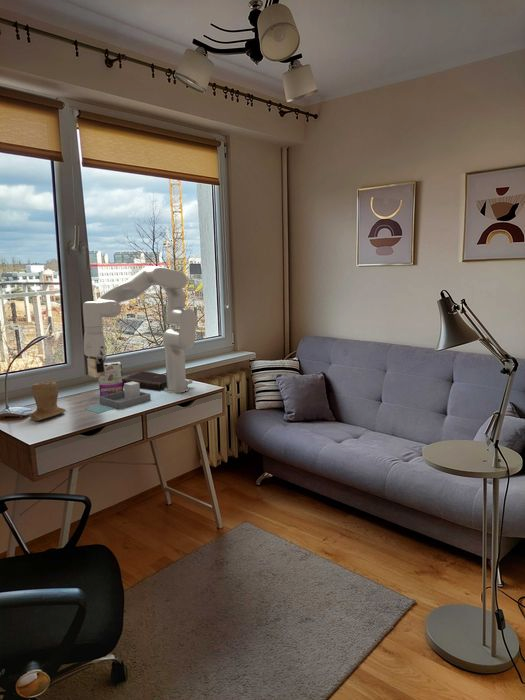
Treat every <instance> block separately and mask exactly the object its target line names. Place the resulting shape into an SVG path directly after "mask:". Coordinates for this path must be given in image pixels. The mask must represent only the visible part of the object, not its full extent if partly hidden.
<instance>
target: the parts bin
mask: <svg viewBox="0 0 525 700" xmlns="http://www.w3.org/2000/svg"><path fill="white" fill-rule="evenodd" d="M151 400H152V397H151V393H148V392H146V391H145V392H144V391H141V390H140V396H139V397H136V398H132V399H128V400H125V393H124V390H123V391H121V392H117V393H114V394H110V395H106V396H102V397H100V396H99V405H103V406H107V407H110V408H113V409H116V410H122V409H125V408H128V407H133V406H135V405H140V404H142V403H145V402H149V401H151Z"/></svg>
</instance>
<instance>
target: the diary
mask: <svg viewBox="0 0 525 700" xmlns="http://www.w3.org/2000/svg"><path fill="white" fill-rule="evenodd" d="M122 378H123V386H124V383H128V382H132V381H133V382H137V383H139V386H140V389H144V390H149V391H151V390H152V391H158V392H160V391H162V390H161V389H163V390H164V388H165V387H167V378H166V374H162V373H156V372H151V371H145V370H144V371H142V370H140V371H139V372H136V373H131V374H130V375H127V376H126V377H122Z"/></svg>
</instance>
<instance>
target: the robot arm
mask: <svg viewBox="0 0 525 700" xmlns="http://www.w3.org/2000/svg"><path fill="white" fill-rule="evenodd" d="M187 283H188V278H187V276H186V273H184V272H183V271H180V270H176V269H172V268H168V267H162V266H150V265H149V266H146V267H143V268H142V269H140V270H139V271H138V272H136V273H135V274H134V275H133V276H131V277H130V278H129V279H127V280H126V281H125V282H123V283H121V284H119V285H117V286H115V287H113V288H111V289H109V290H108V291H106V292H104V293H103V294H101V295H100V296H99V297H98V298H97V299H95V300H93V301H92V300H90V301H85V302H83V305H82V313H83V325H84V333H83V334H84V335H83V354H84V355H85V356H86V359H87V358H91V357H96V359H97V363H98V364H96V365H97V373H100V372H104V363H105V360H106V359H107V354H106V353H107V349H106V342H105V341H106V340H105V335H104V326H103V325H104V324H103V318H115V317H117V316H119V315H120V314H121V313H122V306H121V304H120V303H123V302H126V301H130V300H134V299H137V298H138V297H140V296H141V295H142V294H143V293H145V292H146V291H147V290H148V289H150V288H151V287H152V286H160V287H161V288H162V289H163V290H164V292H165V294H166V297H167V298H166V299H167V303H166V305H167V306H166V322H167V323H168V324H169V325H171V326H174V327H175V328H168V329H167V330H165V331H164V332H163V335H162V342H163V343H162V344H163V348H164V354H165V371H166V372H165V375H166V378H167V387H165V388H164V389H163V391H164V392H165V393H169V394H170V393H172V394H182V392H183V393H185V391H186V392H188V391H189V390H190V387H189V386H188V385H190V384H191V385H192V384H193V382H194V381H193V380H192V379H188V380H187V379H186V354H185V351H186V350H187V351H188V350H190V349H192V348H193V347H194V344H195V342H196V333H197V331H196V329H197V316H196V313H195V311H194V310H193V309H191V308H190V307H186V303H185V302H186V297H185V295H186V294H185V292H184V290H183V288H184V287H186V285H187ZM176 327H178V328H176ZM184 350H185V351H184ZM100 357H101V358H100ZM99 358H100V360H99Z"/></svg>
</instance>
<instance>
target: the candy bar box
mask: <svg viewBox="0 0 525 700" xmlns="http://www.w3.org/2000/svg"><path fill="white" fill-rule="evenodd" d="M104 364H105V376H101V377H97V378H98V379H97V380H98V387H99V388H98V389H99V392H98V393H99V398H100V397H102V396H106V395H110V394H114V393H117V392H121V391H124V387H123V378H124V377H123V368H122V363H121V361H116V362H115V361H113V362H112V361H111V362H104Z"/></svg>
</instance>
